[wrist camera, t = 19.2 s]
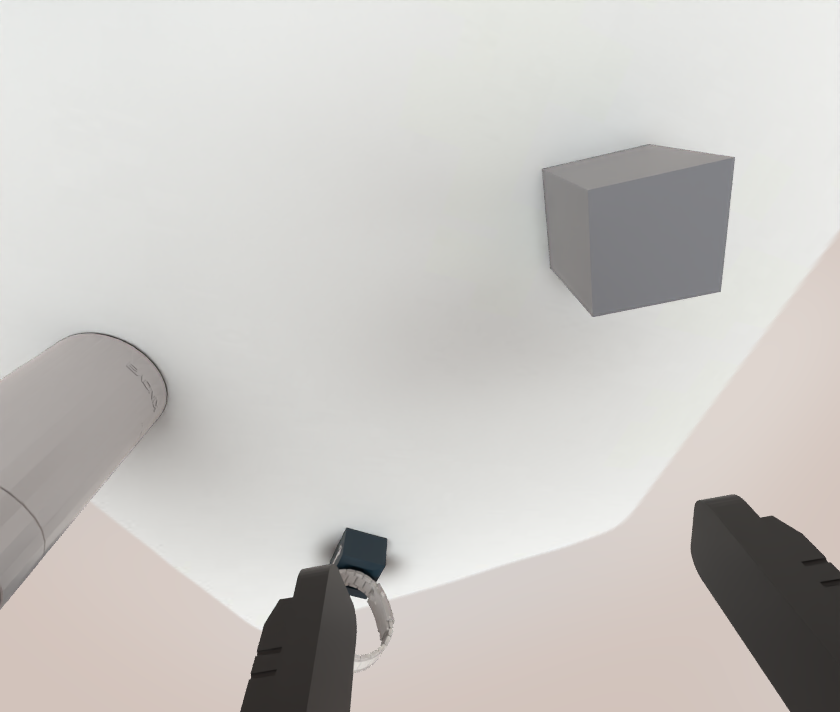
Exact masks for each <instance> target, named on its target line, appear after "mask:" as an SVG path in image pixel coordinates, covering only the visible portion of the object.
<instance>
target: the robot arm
mask: <svg viewBox="0 0 840 712" xmlns="http://www.w3.org/2000/svg"><path fill="white" fill-rule="evenodd" d="M166 398H167V392H166V387H165V383H164V381H163V379H162V376H161V374H160V373H159V371H158V370H157V368H156V367H155V366H154V364H153V363H152V362H151V361H150V360H149V359H148V358H147V357H146V356H145V355H144V354H143V353H141V352H140V351H138V350H137V349H136V348H134V347H133V346H131V345H129V344H127V343H125V342H123V341H121V340H119V339H116V338H113V337H110V336H107V335H100V334H94V333H86V334H77V335H72V336H69V337H67V338H65V339H63V340H61V341H59V342H57V343H56V344H54V345H53V346H51V347H50V348H48V349H47V350H45V351H44V352H42V353H41V354H39V355H38V356H36V357H35V358H33V359H31V360H30V361H28V362H27V363H25V364H24V365H22V366H20V367H19V368H17V369H16V370H14V371H13V372H11V373H10V374H8V375H7V376H5V377H4V378H2V379H1V380H0V609H1V608H2V607H3V606H4V604H5V603H6V602H7V601H8V600H9V599H10V597H11V596H12V595H13V594H14V592H15V591H16V590H17V589H18V588H19V586H20V585H21V584H22V583H23V581H24V580H25V579H26V578H27V577H28V575H29V574H30V573H31V572H32V571H33V569H34V568H35V567H36V566H37V565H38V563H39V562H40V560H41V559H42V558H43V557H44V556H45V554H46V553H47V552H48V551H49V550H50V548H51V547H52V546H53V545H54V544H55V542H56V541H57V540H58V539H59V537H60V536H61V535H62V534H63V533H64V531H65V530H66V529H67V528H68V527H69V525H70V524H71V523H72V522H73V521H74V519H75V518H76V517H77V516H78V515H79V513H80V512H81V511H82V510H83V508H84V507H85V506H86V505H87V504H88V502H89V501H90V500H91V499H92V498H93V496H94V495H95V494H96V493H97V492H98V490H99V489H100V488H101V487H102V485H103V484H104V483H105V482H106V481H107V479H108V478H109V477H110V476H111V475H112V473H113V472H114V471H115V470H116V469H117V467H118V466H119V465H120V464H121V462H122V461H123V460H124V459H125V458H126V456H127V455H128V454H129V453H130V452H131V450H132V449H133V448H134V447H135V446H136V444H137V443H138V442H139V441H140V440H141V438H142V437H143V436H144V435H145V433H146V432H147V431H148V430H149V429H150V427H151V426H152V425H153V424H154V422H155V421H156V420H157V419H158V417H159V416H160V415H161V414H162V412H163V410H164V408H165V405H166ZM691 554H692V558H693V562H694V565H695V567H696V570H697V572H698V574H699V575H700V577H701V579H702V581H703V582H704V583H705V585H706V587H707V588H708V589H709V591H710V592H711V594H712V596H713V597H714V598H715V600H716V601H717V603H718V604H719V606H720V607H721V609H722V610H723V612H724V613H725V615H726V616H727V618H728V619H729V621H730V622H731V624H732V625H733V627H734V628H735V630H736V631H737V633H738V634H739V636H740V637H741V639H742V640H743V642H744V643H745V645H746V646H747V648H748V649H749V651H750V652H751V654H752V655H753V657H754V658H755V660H756V661H757V663H758V664H759V666H760V667H761V669H762V670H763V672H764V673H765V675H766V676H767V677H768V679H769V680H770V682H771V684H772V685H773V686H774V688H775V690H776V691H777V693H778V694H779V695H780V697H781V699H782V700H783V702H784V703H785V705H786V706H787V707H788V709H789V710H790V712H840V571H839V570H838V569H837V568H836V567H835V566H834V565H833V564H832V563H828V562H827V560H826V558H825V556H824V555H823V554H822V553H821V552H820V551H819V550H818V549H817V548H816V547H815V546H814V545H813V544H812V543H811V542H810V541H809V540H808V539H807V538H806V537H805V536H804V535H803V534H802V533H800V532H798V531H796V530H795V529H793V528H792V527H790V526H788V525H787V524H785V523H783V522H782V521H780V520H779V519H777V518H775V517H774V516H767V517H762V518H760V517H759V516H758V515H757V514H756V513H755V512H754V510H753V509H752V508H751V507H750V506H749V505H748V504H747V503H746V502H745V501H744V500H743V499H742V498H741V497H739V496H737V495H727V496H721V497H715V498H710V499H704V500H699V501H697V502H696V503H695V507H694V517H693V528H692V539H691ZM356 629H357V625H356V614H355V609H354V605H353V603H352V600H351V598H350V595H349V593H348V591H347V588H346V586H345V584H344V581H343V579H342V577H341V574H340V572H339V569H338V567H337V566H336V565H335V564H329V565H323V566H317V567H312V568H306V569H302V570H301V571H300V573H299V575H298V578H297V582H296V587H295V591H294V596H293V597H292V598H286V599H280V600H279V601H278V603H277V605H276V606H275V608H274V609H273V611H272V613H271V614H270V616H269V617H268V619H267V621H266V622H265V624H264V627H263V631H262V635H261V638H260V642H259V645H258V649H257V656H256V657H255V660H254V664H253V667H252V671H251V679H250V680H249V682H248V685H247V689H246V693H245V696H244V700H243V704H242V707H241V711H240V712H350V704H351V691H352V680H353V669H354V658H355V646H356V633H357V630H356Z"/></svg>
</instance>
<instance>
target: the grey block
mask: <svg viewBox="0 0 840 712" xmlns="http://www.w3.org/2000/svg"><path fill="white" fill-rule="evenodd" d="M734 161H735V157H730V156H723V155H716V154H710V153H703V152H696V151H690V150H683V149H676V148H670V147H663V146H656V145H650V144H649V145H644V146H640V147H636V148H631V149H627V150H623V151H618V152H614V153H610V154H605V155H601V156H596V157H592V158H588V159H583V160H579V161H575V162H570V163H566V164H562V165H557V166H553V167H549V168H544V169H542V172H543V185H544V197H545V209H546V221H547V233H548V245H549V258H550V268H551V269H552V270H553V272H554V273H555V274H556V275H557V276H558V277H559V279H560V280H561V281H562V282H563V283H564V284H565V286H566V287H567V288H568V289H569V290H570V291H571V292H572V294H573V295H574V296H575V297H576V298H577V299H578V301H579V302H580V303H581V304H582V305H583V306H584V308H585V309H586V310H587V311H588V312H589V313H590V314H591V316H592V317H595V316H601V315H606V314H611V313H616V312H621V311H626V310H631V309H636V308H641V307H646V306H651V305H656V304H661V303H666V302H671V301H676V300H681V299H686V298H691V297H696V296H701V295H706V294H711V293H716V292H721V284H722V274H723V265H724V255H725V246H726V237H727V227H728V218H729V208H730V199H731V189H732V180H733V171H734Z"/></svg>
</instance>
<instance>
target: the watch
mask: <svg viewBox="0 0 840 712" xmlns="http://www.w3.org/2000/svg"><path fill="white" fill-rule="evenodd" d="M386 549H387V539H386V538H383V537H379V536H375V535H372V534H368V533H364V532H360V531H357V530H353V529H349V528H346V530H345V532H344V534H343V536H342V538H341V540H340V542H339V544H338V547H337V549H336V551H335V553H334V555H333V557H332V559H331V561H330V564H335V565H336V566H337V567H338V569H339V572H340V574H341V577H342V579H343V581H344V584H345V586H346V588H347V591H348V593H349V595H351V596H355V597H359V598H363V599H367V597H368V598H369V599H368V601H367V602H368V604H369V606H370V608H371V610H372V612H373V614H374V617H375V620H376V624H377V628H378V632H379V633H380V640H382V642H381V647H380V648H379V649H378V650H375V651H374V652H372V653H370V655H369V654H365V655H361V656H359V655H355V658H354V669H353V673H356V672H360V671H362V670H365V669H367V668H369V667H370V666H371V665H373V664H374V663H375V662H376V661H377V660H378V658H379V657H380V656H381V654H382V652H383V651H384V649H385V648H386V646H387V645H388V643H389V641H390V639H391V636H392V632H393V629H392V628H393V624H394V618H393V613H392V610H391V607H390V604H389V601H388V599H387V596H386V594H385V592H384V591H383V589H382V587H381V585H380V584H379V583H378V584H377V583H376V581H377V580H378V578H379V576H380V575H381V573H382V571H383V569H384V568H385V566H386Z"/></svg>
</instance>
